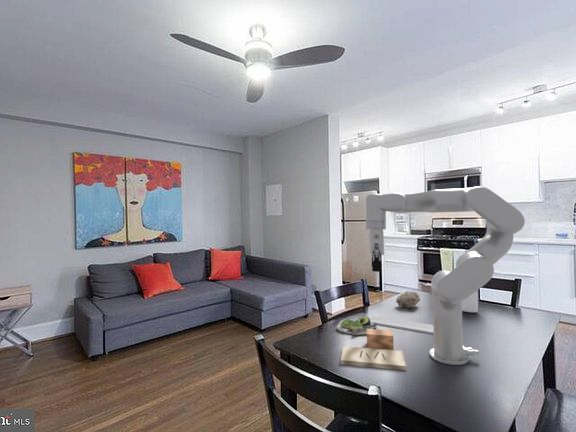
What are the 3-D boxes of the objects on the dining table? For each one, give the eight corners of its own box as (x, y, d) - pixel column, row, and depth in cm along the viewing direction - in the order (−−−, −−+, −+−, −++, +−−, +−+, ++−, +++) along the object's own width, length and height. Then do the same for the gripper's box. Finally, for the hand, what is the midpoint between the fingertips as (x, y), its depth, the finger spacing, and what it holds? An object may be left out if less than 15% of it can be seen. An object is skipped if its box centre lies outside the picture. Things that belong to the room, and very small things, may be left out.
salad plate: (372, 341, 131) (372, 330, 131) (331, 335, 138) (331, 325, 138) (379, 325, 148) (378, 316, 148) (342, 321, 156) (342, 312, 156)
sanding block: (392, 344, 126) (391, 330, 126) (393, 351, 120) (393, 335, 120) (367, 343, 128) (366, 328, 128) (367, 349, 123) (366, 334, 123)
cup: (456, 311, 165) (455, 284, 165) (466, 309, 169) (466, 283, 169) (471, 315, 158) (470, 288, 158) (482, 313, 161) (481, 286, 161)
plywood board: (402, 354, 116) (402, 350, 116) (406, 370, 105) (405, 365, 105) (343, 350, 122) (343, 346, 122) (340, 364, 110) (340, 359, 110)
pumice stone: (406, 302, 185) (405, 289, 185) (425, 306, 176) (425, 292, 176) (393, 307, 176) (393, 293, 176) (413, 312, 167) (412, 297, 167)
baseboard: (374, 317, 162) (366, 324, 152) (373, 311, 162) (366, 318, 152) (439, 327, 145) (435, 335, 135) (438, 320, 145) (435, 329, 135)
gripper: (387, 226, 112) (387, 273, 112) (384, 224, 128) (384, 265, 128) (366, 226, 113) (366, 272, 113) (365, 224, 130) (366, 265, 130)
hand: (376, 269), depth 121 cm, fingers open, 9 cm apart
